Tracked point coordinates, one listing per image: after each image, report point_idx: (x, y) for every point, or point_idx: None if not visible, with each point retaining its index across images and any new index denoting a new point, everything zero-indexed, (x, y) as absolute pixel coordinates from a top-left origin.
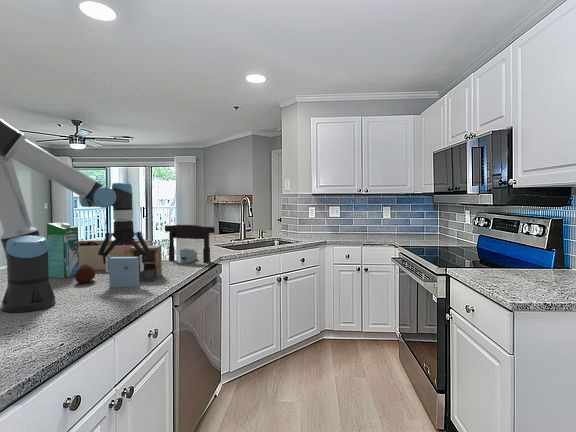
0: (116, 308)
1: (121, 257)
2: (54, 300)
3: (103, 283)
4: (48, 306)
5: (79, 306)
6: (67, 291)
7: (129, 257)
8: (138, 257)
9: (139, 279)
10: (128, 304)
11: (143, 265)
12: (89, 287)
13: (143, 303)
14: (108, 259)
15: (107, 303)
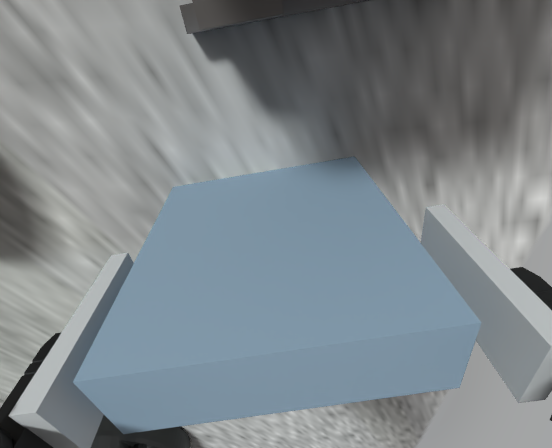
0: (377, 425)
1: (244, 387)
2: (179, 442)
3: (52, 130)
4: (189, 445)
5: (266, 426)
6: (44, 320)
7: (355, 375)
8: (473, 326)
9: (313, 9)
10: (400, 403)
11: (471, 237)
12: (72, 245)
13: (444, 393)
14: None
15: None
